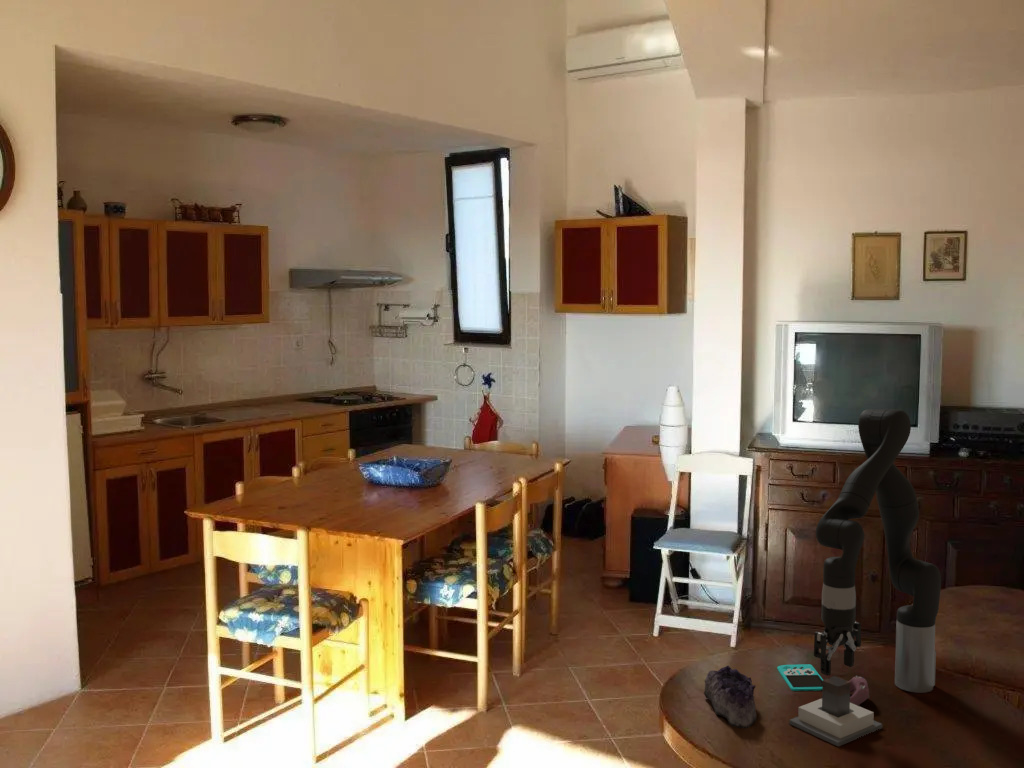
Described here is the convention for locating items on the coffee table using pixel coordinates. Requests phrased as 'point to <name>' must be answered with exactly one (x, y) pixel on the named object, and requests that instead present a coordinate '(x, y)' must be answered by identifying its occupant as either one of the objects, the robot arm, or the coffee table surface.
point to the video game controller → (858, 690)
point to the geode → (731, 696)
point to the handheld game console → (801, 677)
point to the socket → (835, 723)
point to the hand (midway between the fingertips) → (837, 669)
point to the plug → (836, 696)
